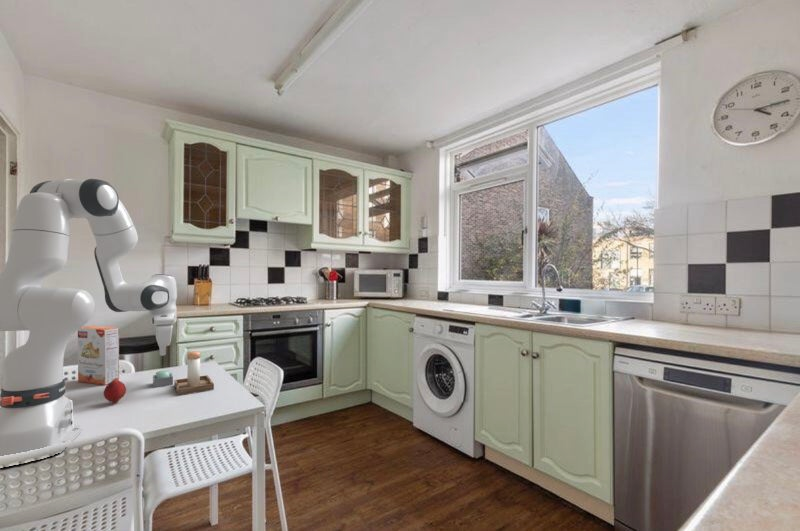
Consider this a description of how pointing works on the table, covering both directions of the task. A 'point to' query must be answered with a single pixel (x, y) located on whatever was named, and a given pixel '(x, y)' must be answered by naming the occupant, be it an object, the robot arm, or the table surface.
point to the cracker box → (98, 354)
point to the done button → (162, 374)
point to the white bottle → (193, 368)
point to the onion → (114, 391)
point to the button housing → (162, 381)
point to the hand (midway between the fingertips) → (162, 354)
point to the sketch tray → (184, 389)
